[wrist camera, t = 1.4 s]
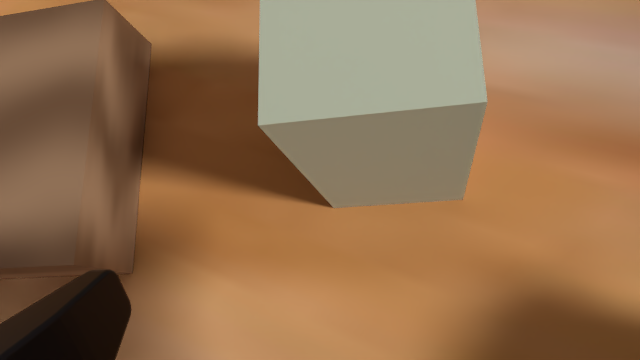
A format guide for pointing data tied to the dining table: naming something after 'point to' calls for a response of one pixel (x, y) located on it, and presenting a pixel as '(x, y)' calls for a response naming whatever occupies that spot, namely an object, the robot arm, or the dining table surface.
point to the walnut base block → (70, 140)
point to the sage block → (373, 95)
